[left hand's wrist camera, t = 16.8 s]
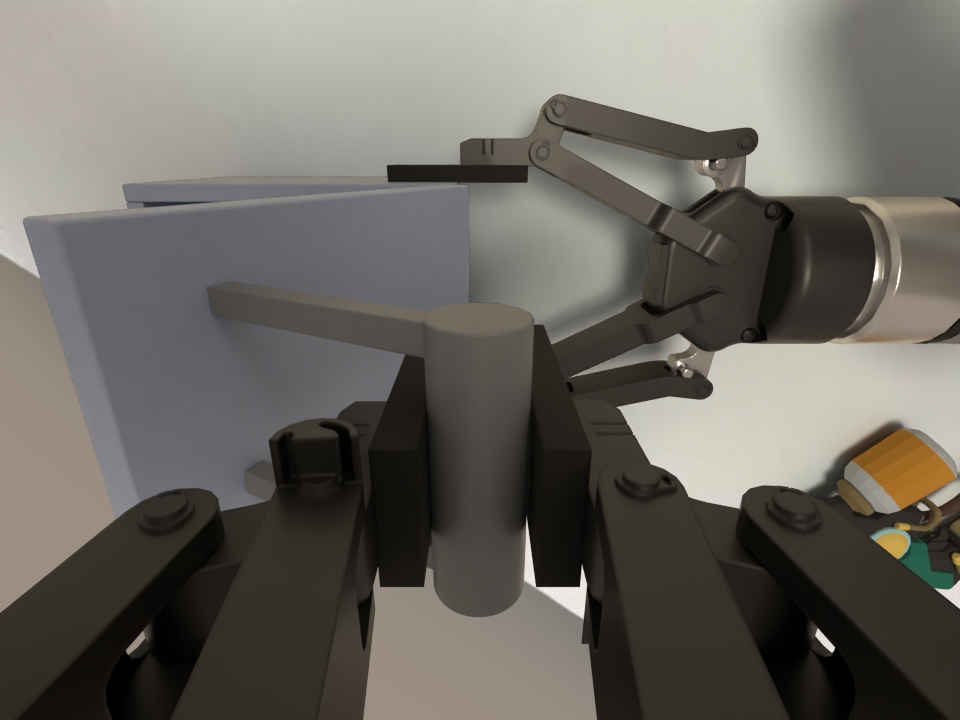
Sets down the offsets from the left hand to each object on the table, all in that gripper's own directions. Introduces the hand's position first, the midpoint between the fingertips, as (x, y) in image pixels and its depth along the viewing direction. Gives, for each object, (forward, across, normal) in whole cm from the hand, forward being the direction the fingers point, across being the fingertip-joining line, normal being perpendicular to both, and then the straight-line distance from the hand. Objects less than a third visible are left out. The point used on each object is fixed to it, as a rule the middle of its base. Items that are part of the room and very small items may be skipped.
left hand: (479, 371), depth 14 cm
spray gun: (+20, +32, -20) cm, 43 cm away
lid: (+3, -5, 0) cm, 6 cm away
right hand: (+13, -4, 0) cm, 14 cm away
